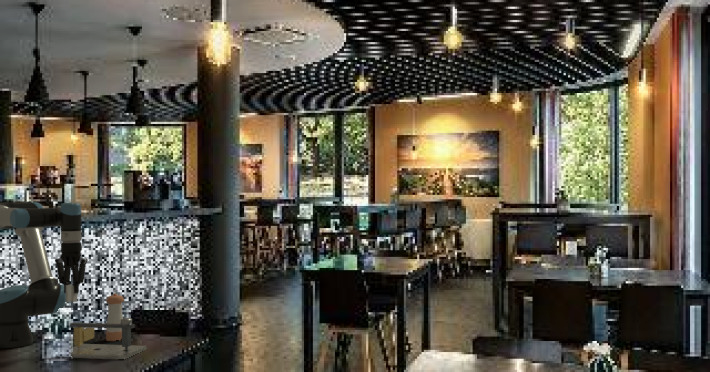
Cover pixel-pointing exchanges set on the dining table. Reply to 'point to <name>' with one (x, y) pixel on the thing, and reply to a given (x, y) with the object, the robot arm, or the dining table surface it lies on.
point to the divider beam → (125, 325)
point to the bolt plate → (106, 351)
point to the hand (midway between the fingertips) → (71, 301)
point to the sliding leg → (82, 335)
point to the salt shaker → (114, 317)
